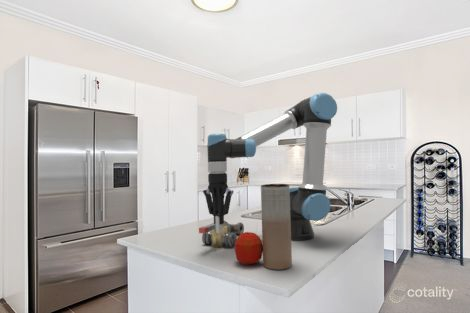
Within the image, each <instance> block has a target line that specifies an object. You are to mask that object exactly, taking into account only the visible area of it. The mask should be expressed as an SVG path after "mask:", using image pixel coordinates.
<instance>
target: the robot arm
mask: <svg viewBox="0 0 470 313" xmlns="http://www.w3.org/2000/svg"><path fill="white" fill-rule="evenodd" d="M337 113H338V104H337V101H336V99H334V97H333V96H332V95H331V94H328V93H326V92H320V93H316V94H313V95H311V96H310V97H307V98H305V99H303V100H300V101H299V102H298V103H297V104H295V105H293V106H292V107H290V108H289V109H286V110H285V111H284V113H283V114H281V115H279V116H277V117H276V118H274V119H272V120H270V121H269V122H266V123H264V124H262V125H260V126H258V127H256V128H254V129H252V130H251V131H248V132H246V133H244V134H243V135H241V136H239V137H237V138H231V139H230V138H227V135H226V133H211V134H208V136H207V145H206V147H207V172H208V175H207V176H208V178H207V181H208V186H207V188H206V189H204V190H203V191H202V193H203V194H204V198H205V201H206V205H207V209H208V213H209V215H212V216H213V223H214V224H216V233H221V232H222V224H224V221H225V216H226V215H228V214H229V211H230V207H231V206H230V205H231V201H232V200H231V199H232V196H233V194H234V190H231V189H229V185H228V173H226V172H228V165H227V164H228V163H227V162H228V158H229V159H236V158H237V159H238V158H239V159H240V158H253V157H255V156H256V152H257V147H259V146H260V145H261V146H262V145H263V144H265V143H266V142H268V141H271V140H272V139H275V138H276V137H277V136H281V135H282V134H283V133H285V132H287V131H290V130H291V129H292V130H296V129H298V128H300V127H304V128H305V129H306V130H305V143H304V158H303V172H302V183H301V184H300V185H299V186H298V187H290V219H291V241H307V240H311V239H314V238H315V233H314V232H315V231H314V229H313V226H312V223H311V221H313V222H314V221H315V222H317V221H321V220H323V219H325V218H326V217H327V216H328V215H329V213H330V210H331V201H330V199H329V197H328V196H327V195H326V194H327V188H326V186H324V176H325V175H324V174H325V173H324V172H325V162H326V160H325V159H326V145H327V144H326V143H327V131H328V129H329V128H331V127H332V119H333V118H334V117H335V116H336V115H337ZM225 194H226V195H225Z"/></svg>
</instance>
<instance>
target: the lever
mask: <svg viewBox="0 0 470 313" xmlns="http://www.w3.org/2000/svg"><path fill="white" fill-rule="evenodd" d="M223 226H224V224H222V227H223ZM214 229H216V224H214V222H212V223H210V224H207V225H205V226H201V227H198V233H199V234H202V235H203V234H205V233H208V232H209V231H211V230H214Z"/></svg>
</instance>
